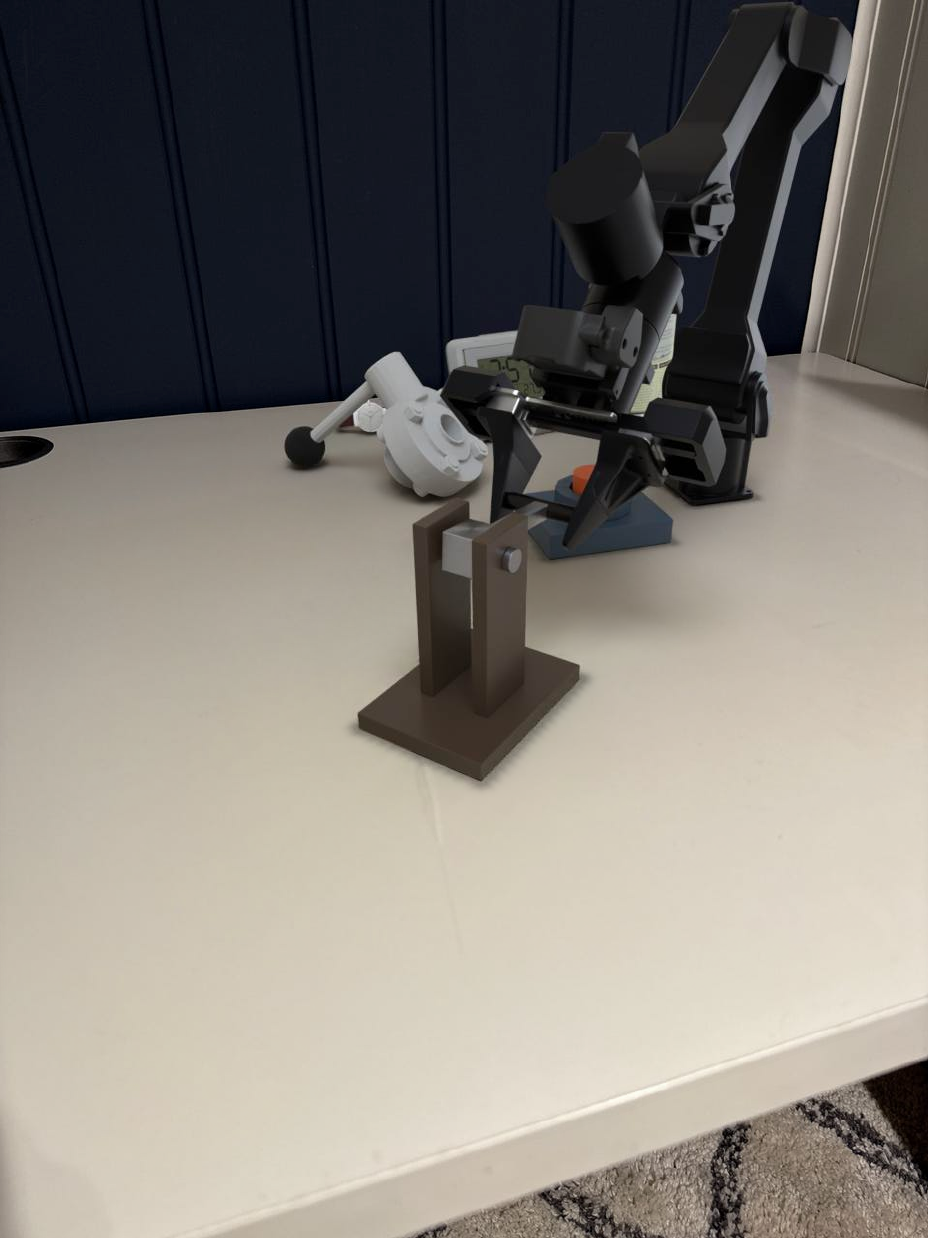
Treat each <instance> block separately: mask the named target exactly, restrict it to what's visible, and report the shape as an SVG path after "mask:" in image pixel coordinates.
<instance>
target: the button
mask: <svg viewBox="0 0 928 1238" xmlns="http://www.w3.org/2000/svg"><path fill="white" fill-rule="evenodd" d="M594 467H595V464H585V465H580V466H578V467H576V468H574V470H573V472H572V475H573V489H572V490H573V492H574V493H577V494H579V495H582V492H583V490H584V488H585V486H586V484H587V482H588V480H589V478H590V475H591V473H592V471H593V469H594Z"/></svg>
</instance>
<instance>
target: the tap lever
mask: <svg viewBox="0 0 928 1238" xmlns="http://www.w3.org/2000/svg"><path fill="white" fill-rule="evenodd" d="M525 494H526V493H523V494H521V493H517V492H510V493H509V494H508V496H507V499H506V507H507V509H509V510H513V511H514V512H513V513H518V514H522V515H526V516H528V530H529V529H530V528H532V527H534V526H536V525H537V524H539V523H541V522H543V521H544V520H546V519H548V520H552V521H556V522H560V523H564V524H568V523H569V520H570V518H571V516H572V514H573V512H574V509H575V506H571V505H567V504H562V503H558V502H554V501H550V500H546V499H542V498H537V497H533V496H529V495H525ZM511 514H512V513H511ZM509 515H510V514H509ZM509 515H507V516H509ZM507 516H505V517H503V518H501V519H499V520H498V521H496V522H494V523H492V524H490V523H488V522H483V521H480V520H476V519H473V518H470V519H467V520H465V521H463V522H461V523H459V524H457V525H455V526H453V527H451V528H449V529H447V530H445V531H444V532H443V533H442V570H443V571H446V572H450V573H453V574H456V575H459V576H463V577H466V578H469V579H471V580H472V540H473V539H475V538H476V537H478V536H479V535H481V534H482V533H484V532H485V531H487V530H488V529H490V528H491V527H493V526H494V525H496V524H497V523H499V522H500V521H501V520H503V519H504V518H506V517H507Z"/></svg>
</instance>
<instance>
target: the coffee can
mask: <svg viewBox="0 0 928 1238" xmlns="http://www.w3.org/2000/svg"><path fill="white" fill-rule="evenodd" d="M591 285H592V283H589V284H588V292H589V290H590V287H591ZM677 316H678V315H676V314H671V316H670V318H669V320H668V323H667V325H666V328H665V330H664V332H663V335H662V337H661V340H660V342H659V344H658V347H657V349H656V352H655V354H654V356H653V359H652V361H651V362H652V365H653V368H654V370H655V374H654V376H653V379H652V381H651V384H650V385H647V384H642V385H641V388H640V390H639V392H638V395H637V397H636V400H635V402H634V404H633V407H632V409H631V412H630V414H631V415H637V416H642V417H643V416H644V413H645V411H646V409H647V406H648V404H649V402H651V401H652V400H654V399H656V398H657V397H659V398H662V381H663V376H664V373H665V370H666V368H667V366H668V364H669V362H671V360H672V356H673V352H674V347H675V339H676V326H677Z"/></svg>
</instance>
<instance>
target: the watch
mask: <svg viewBox="0 0 928 1238" xmlns="http://www.w3.org/2000/svg"><path fill="white" fill-rule="evenodd" d="M385 411H386V408H385V407H384V406H383V407H382V406H380V405H379V404H378V403H375V402H371V399H369V400H368V401H367V402H366V403H364V404H363V405H362V406H361V407H360V408H359V409H358V410H356V411H355V412H354V413H353V414H352V415H351V416H350V417H349V418H347V419H346V420H345V421H344V422H343V423H342V424H341V425H340V426H338V427H337V428H339V427H340V428H341V427H342V428H343V427H354V428H356V427H358V428H360V429H361V430H362V431H364V432H367V433H374V432H375V433H376V432H377V429H379V428H380V427H381V426H382V420H383V416H384V413H385Z"/></svg>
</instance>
